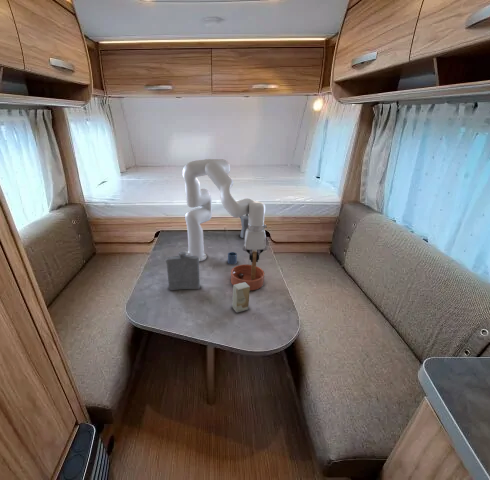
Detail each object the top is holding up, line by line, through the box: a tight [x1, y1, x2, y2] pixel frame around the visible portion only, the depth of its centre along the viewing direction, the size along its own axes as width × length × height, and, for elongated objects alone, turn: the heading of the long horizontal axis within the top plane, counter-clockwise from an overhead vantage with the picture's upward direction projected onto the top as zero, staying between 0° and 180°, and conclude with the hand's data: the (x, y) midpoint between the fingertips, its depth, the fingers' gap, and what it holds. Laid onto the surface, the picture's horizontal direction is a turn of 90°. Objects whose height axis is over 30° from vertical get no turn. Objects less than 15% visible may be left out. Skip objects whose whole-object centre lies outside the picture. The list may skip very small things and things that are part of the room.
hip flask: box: [165, 250, 201, 291], centre depth 134 cm, size 16×4×20 cm, turn 92°
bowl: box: [230, 263, 265, 291], centre depth 140 cm, size 17×17×6 cm
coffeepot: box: [239, 214, 249, 239], centre depth 196 cm, size 15×9×18 cm, turn 51°
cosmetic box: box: [231, 282, 251, 313], centre depth 119 cm, size 6×4×12 cm
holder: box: [227, 251, 238, 265], centre depth 160 cm, size 5×6×6 cm
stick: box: [251, 250, 257, 279], centre depth 138 cm, size 2×2×16 cm
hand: (254, 260), depth 137 cm, fingers closed on stick, 2 cm apart
